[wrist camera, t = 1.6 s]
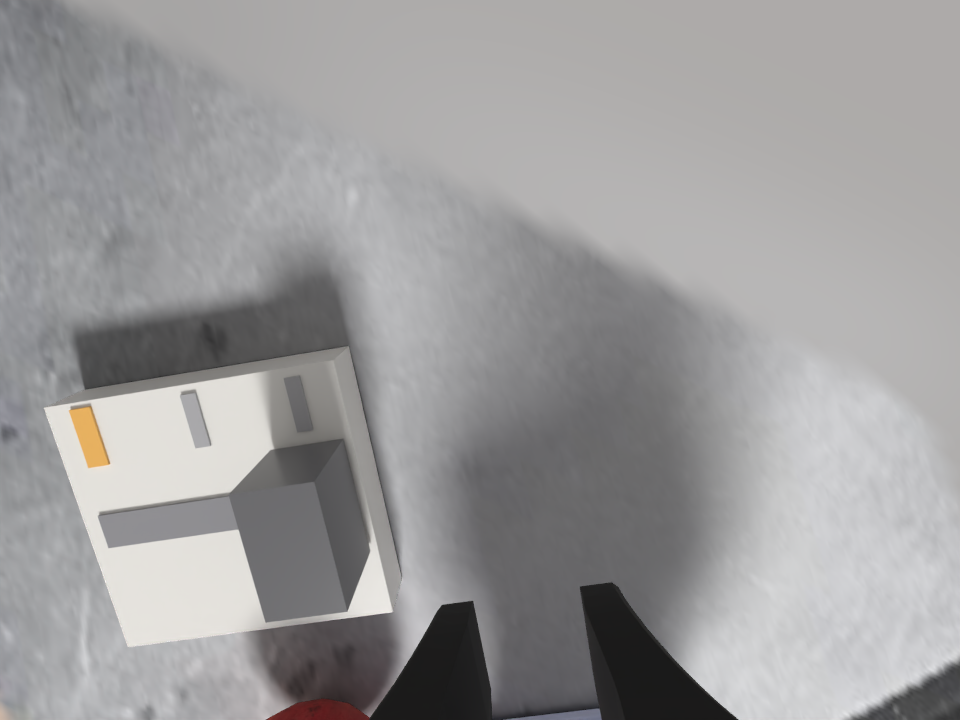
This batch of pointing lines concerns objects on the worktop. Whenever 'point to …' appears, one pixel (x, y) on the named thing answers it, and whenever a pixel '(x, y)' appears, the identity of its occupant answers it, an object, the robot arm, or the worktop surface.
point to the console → (209, 487)
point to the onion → (320, 711)
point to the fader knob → (302, 530)
